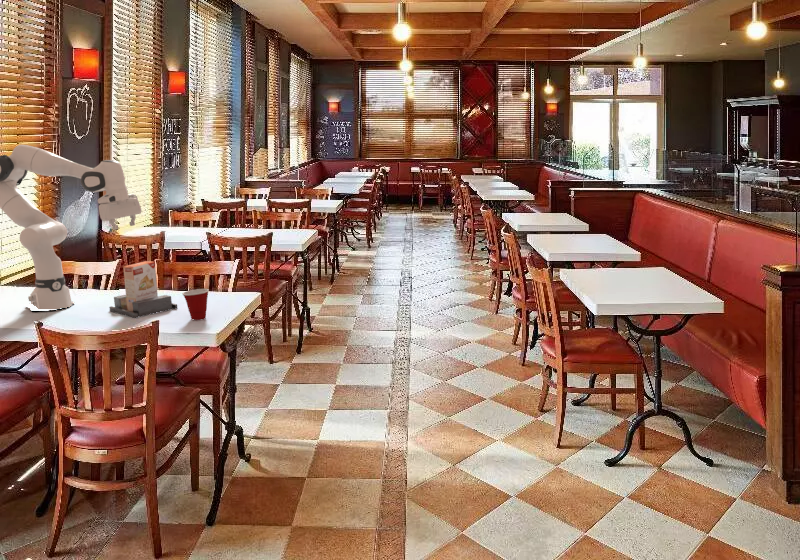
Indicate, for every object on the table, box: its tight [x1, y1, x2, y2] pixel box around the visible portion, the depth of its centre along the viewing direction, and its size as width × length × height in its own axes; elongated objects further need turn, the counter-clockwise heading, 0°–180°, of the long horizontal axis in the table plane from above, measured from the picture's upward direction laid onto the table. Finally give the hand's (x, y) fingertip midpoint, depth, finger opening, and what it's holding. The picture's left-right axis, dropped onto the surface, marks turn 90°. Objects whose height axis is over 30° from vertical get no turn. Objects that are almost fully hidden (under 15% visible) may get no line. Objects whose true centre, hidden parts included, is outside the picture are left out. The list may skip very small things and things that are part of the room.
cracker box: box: [122, 260, 159, 312], centre depth 318 cm, size 14×6×21 cm, turn 158°
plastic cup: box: [182, 288, 210, 321], centre depth 301 cm, size 11×11×12 cm
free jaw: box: [113, 294, 127, 310], centre depth 324 cm, size 5×16×6 cm, turn 140°
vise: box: [108, 294, 178, 319], centre depth 319 cm, size 22×20×6 cm
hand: (124, 227), depth 322 cm, fingers open, 8 cm apart
